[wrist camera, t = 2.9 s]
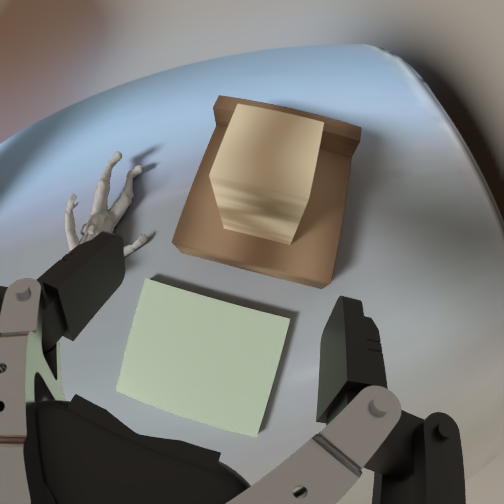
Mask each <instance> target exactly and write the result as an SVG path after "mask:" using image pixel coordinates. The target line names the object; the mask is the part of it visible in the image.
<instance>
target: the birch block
mask: <svg viewBox="0 0 504 504" xmlns="http://www.w3.org/2000/svg"><path fill="white" fill-rule="evenodd" d="M323 126H324V122H321V121H317V120H313V119H309V118H305V117H301V116H297V115H293V114H288V113H284V112H279V111H274V110H270V109H265V108H259V107H254V106H249V105H243V104H237V106H236V108H235V111H234V113H233V116H232V118H231V120H230V123H229V125H228V128H227V130H226V133H225V135H224V138H223V140H222V143H221V145H220V148H219V150H218V153H217V156H216V158H215V161H214V163H213V166H212V169H211V171H210V174H209V177H210V181H211V184H212V188H213V192H214V195H215V199H216V202H217V206H218V209H219V213H220V216H221V220H222V223H223V227H224V228H225V229H229V230H233V231H237V232H241V233H245V234H249V235H253V236H257V237H260V238H264V239H268V240H272V241H276V242H280V243H284V244H288V245H290V244H291V242H292V239H293V237H294V235H295V232H296V230H297V227H298V225H299V222H300V220H301V218H302V215H303V213H304V210H305V208H306V205H307V203H308V200H309V197H310V192H311V187H312V182H313V177H314V172H315V168H316V162H317V157H318V152H319V147H320V142H321V137H322V131H323Z"/></svg>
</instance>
